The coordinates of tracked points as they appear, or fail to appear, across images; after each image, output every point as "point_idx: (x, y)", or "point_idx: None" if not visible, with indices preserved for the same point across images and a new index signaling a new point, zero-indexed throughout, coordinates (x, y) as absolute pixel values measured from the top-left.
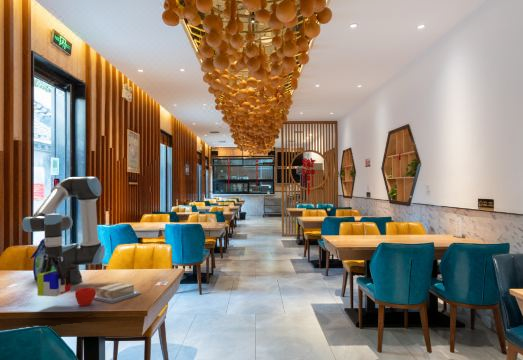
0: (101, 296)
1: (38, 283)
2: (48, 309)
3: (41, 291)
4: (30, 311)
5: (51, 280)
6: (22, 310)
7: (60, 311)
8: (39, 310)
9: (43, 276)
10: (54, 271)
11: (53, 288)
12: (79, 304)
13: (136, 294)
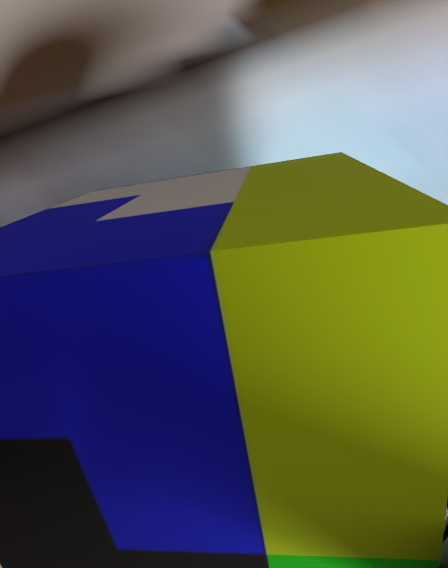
0: None
1: (356, 178)
2: (199, 149)
3: (281, 167)
4: (315, 43)
5: (31, 237)
6: (433, 39)
7: (52, 138)
8: (253, 100)
9: (209, 236)
10: (246, 555)
11: (74, 207)
12: None
13: None
